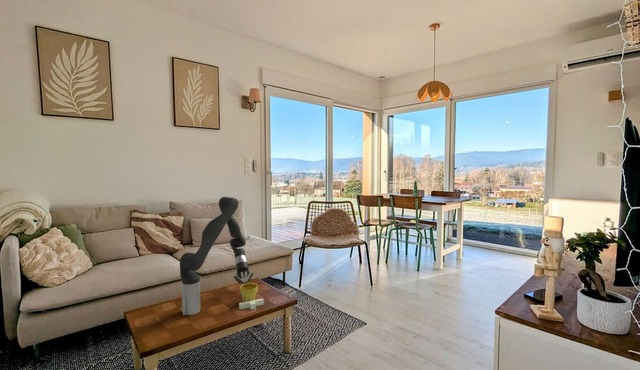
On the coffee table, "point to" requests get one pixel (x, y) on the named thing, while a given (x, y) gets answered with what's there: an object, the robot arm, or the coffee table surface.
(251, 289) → the plant pot
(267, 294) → the coffee table surface
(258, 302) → the t stop
